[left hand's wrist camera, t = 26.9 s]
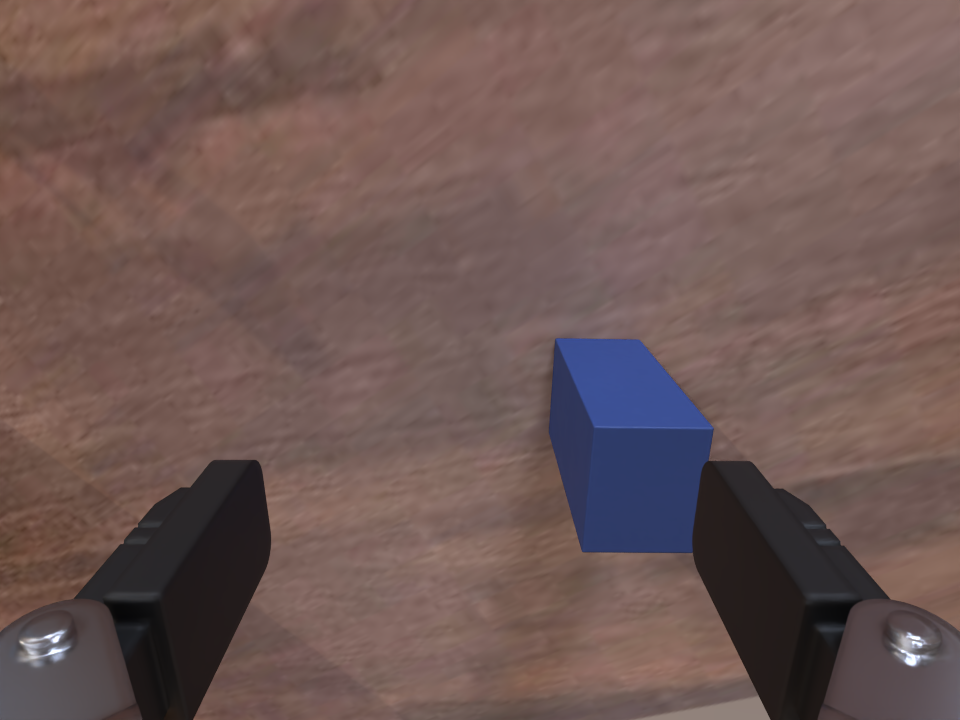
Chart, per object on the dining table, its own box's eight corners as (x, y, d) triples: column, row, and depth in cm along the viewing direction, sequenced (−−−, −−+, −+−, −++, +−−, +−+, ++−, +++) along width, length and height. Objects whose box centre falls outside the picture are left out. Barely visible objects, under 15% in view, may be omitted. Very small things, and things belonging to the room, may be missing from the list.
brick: (639, 339, 33) (714, 428, 23) (628, 434, 35) (693, 553, 25) (555, 337, 33) (593, 426, 23) (548, 433, 35) (581, 553, 25)
